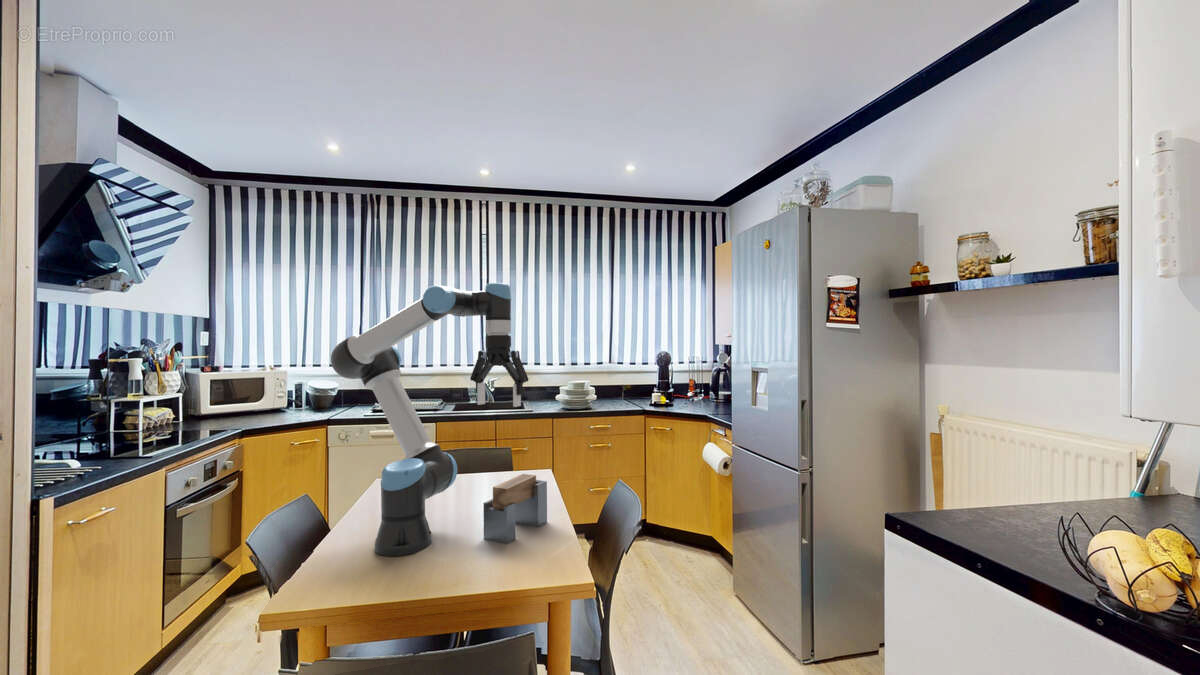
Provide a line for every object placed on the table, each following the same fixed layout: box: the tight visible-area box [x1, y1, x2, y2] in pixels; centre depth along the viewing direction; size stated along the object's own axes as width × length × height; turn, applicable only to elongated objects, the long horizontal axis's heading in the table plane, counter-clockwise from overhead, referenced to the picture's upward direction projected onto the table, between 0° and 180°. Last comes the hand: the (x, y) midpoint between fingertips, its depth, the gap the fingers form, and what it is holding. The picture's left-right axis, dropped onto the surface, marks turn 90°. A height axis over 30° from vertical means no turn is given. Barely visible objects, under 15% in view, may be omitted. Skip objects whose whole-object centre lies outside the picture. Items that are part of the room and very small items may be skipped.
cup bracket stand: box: [483, 479, 548, 545], centre depth 149 cm, size 10×20×13 cm, turn 152°
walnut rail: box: [492, 473, 537, 509], centre depth 149 cm, size 5×16×6 cm, turn 156°
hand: (498, 405), depth 146 cm, fingers open, 13 cm apart
